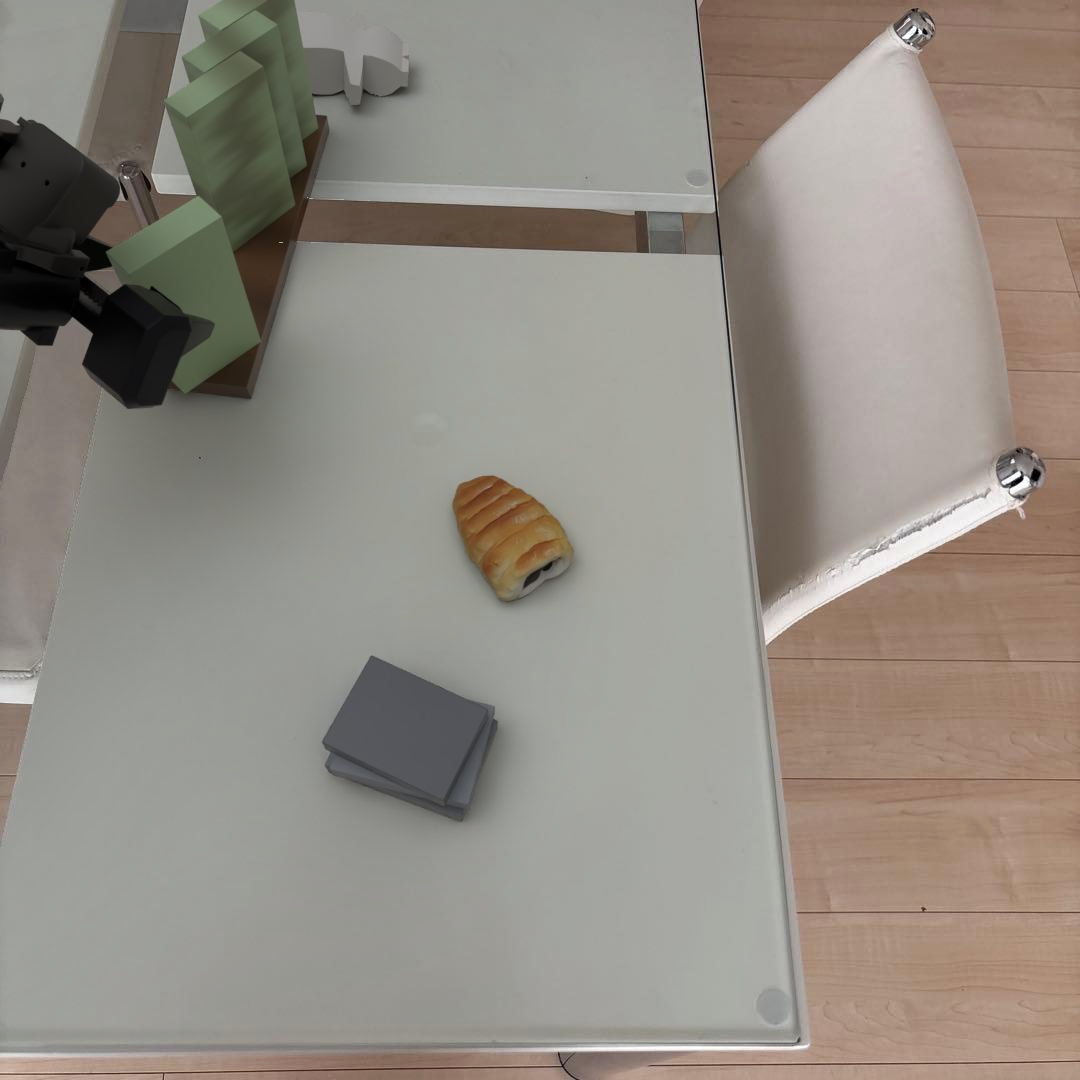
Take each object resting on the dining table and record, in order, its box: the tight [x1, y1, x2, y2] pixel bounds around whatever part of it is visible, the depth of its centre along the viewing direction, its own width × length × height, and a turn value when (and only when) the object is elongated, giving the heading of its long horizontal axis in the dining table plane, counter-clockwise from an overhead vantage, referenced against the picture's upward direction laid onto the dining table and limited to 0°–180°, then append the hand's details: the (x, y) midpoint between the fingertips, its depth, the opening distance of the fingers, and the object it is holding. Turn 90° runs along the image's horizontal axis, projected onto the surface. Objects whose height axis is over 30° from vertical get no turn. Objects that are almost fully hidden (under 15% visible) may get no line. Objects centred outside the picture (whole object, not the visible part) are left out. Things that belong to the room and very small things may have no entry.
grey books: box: [321, 655, 498, 823], centre depth 59 cm, size 9×7×5 cm
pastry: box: [451, 474, 575, 602], centre depth 67 cm, size 9×7×4 cm
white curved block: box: [297, 10, 410, 106], centre depth 86 cm, size 10×5×15 cm
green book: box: [106, 195, 261, 395], centre depth 66 cm, size 7×2×13 cm, turn 135°
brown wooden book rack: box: [163, 0, 330, 400], centre depth 72 cm, size 29×7×14 cm, turn 174°
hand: (164, 292), depth 65 cm, fingers open, 9 cm apart
